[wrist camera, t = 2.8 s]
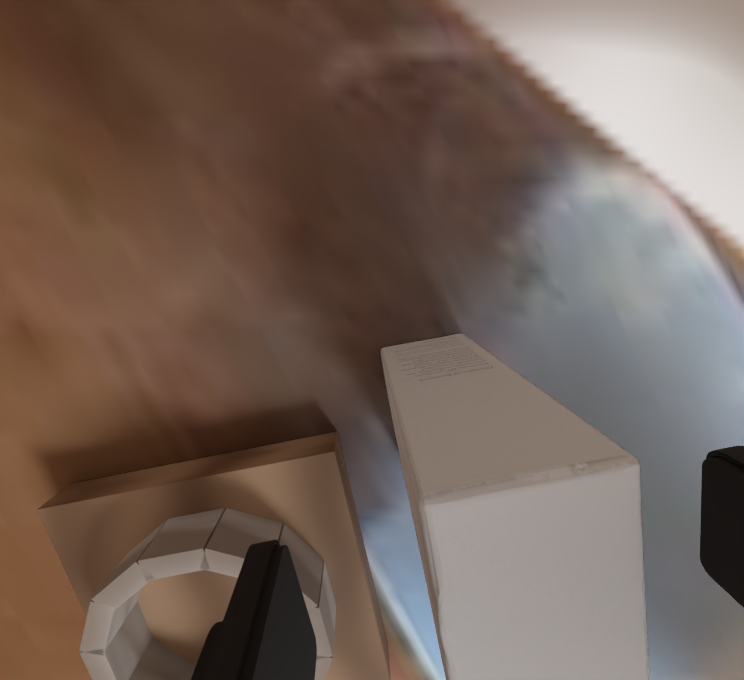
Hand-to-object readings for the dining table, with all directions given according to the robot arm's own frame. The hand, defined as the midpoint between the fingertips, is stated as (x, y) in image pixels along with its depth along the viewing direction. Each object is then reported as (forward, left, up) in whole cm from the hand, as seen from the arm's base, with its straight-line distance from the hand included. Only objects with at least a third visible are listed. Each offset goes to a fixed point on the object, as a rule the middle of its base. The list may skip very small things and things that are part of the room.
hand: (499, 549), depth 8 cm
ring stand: (+12, +9, -11) cm, 18 cm away
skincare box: (0, +1, -11) cm, 11 cm away
